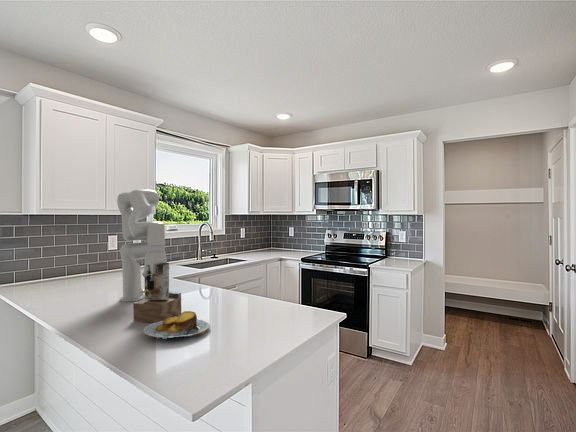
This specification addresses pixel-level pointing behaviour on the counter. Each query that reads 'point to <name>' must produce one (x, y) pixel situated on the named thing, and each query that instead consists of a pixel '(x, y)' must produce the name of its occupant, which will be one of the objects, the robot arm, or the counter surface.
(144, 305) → the display stand
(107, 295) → the counter surface
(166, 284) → the coffee box
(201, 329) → the food on plate
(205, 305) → the counter surface
